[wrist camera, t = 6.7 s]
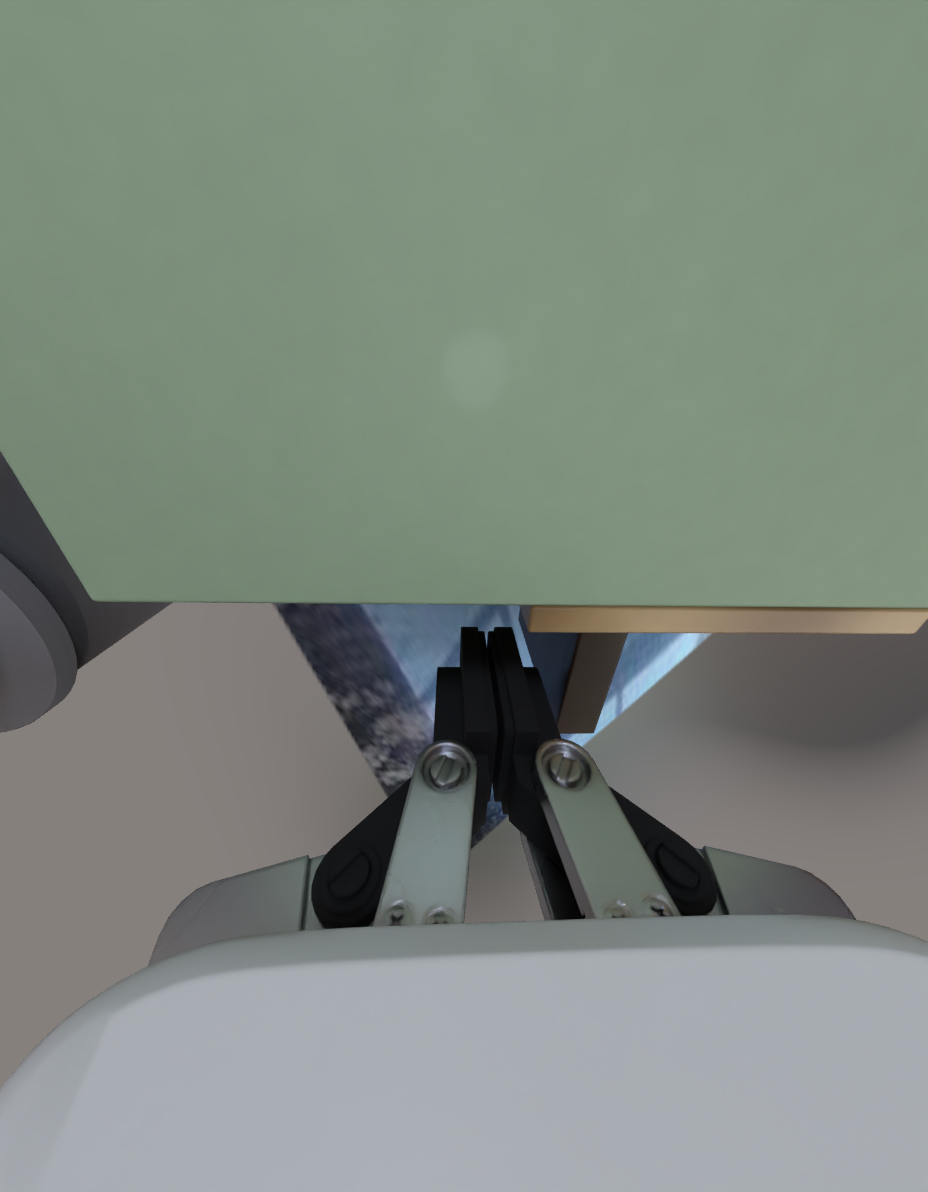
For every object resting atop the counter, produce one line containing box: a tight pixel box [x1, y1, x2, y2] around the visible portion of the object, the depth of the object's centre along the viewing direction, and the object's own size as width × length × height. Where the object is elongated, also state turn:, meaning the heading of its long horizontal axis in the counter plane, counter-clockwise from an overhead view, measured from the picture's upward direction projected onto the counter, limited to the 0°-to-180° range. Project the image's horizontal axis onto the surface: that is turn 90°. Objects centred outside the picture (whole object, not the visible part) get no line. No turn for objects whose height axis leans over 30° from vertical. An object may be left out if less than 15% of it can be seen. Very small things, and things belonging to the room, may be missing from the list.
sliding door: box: [519, 605, 928, 734], centre depth 13 cm, size 9×5×11 cm, turn 88°
